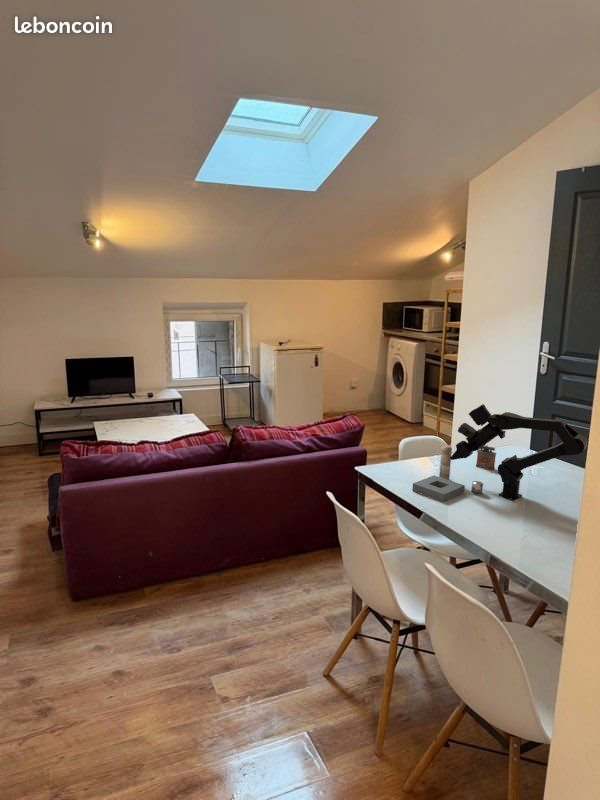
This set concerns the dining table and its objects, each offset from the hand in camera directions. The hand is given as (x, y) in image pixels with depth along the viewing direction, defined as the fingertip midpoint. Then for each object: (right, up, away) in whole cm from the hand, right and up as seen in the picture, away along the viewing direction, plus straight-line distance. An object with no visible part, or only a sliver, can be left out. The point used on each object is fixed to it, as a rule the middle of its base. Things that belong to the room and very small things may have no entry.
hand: (455, 456), depth 211 cm
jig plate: (-9, -13, -8) cm, 18 cm away
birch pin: (-3, -10, +5) cm, 12 cm away
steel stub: (+6, -13, -8) cm, 17 cm away
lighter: (+19, -8, +20) cm, 29 cm away
